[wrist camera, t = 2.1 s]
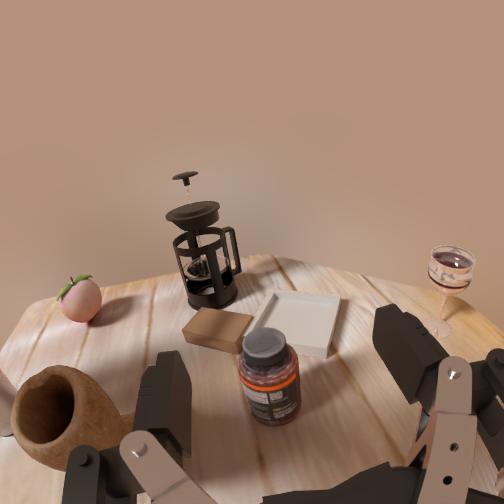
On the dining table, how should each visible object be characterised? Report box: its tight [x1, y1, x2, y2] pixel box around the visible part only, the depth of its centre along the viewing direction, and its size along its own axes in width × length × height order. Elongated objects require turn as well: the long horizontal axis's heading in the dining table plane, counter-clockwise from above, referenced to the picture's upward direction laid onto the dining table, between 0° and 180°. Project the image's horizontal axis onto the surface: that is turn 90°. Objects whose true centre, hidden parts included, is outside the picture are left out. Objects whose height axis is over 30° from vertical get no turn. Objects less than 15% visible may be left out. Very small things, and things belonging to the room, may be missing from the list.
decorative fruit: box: [57, 275, 102, 323], centre depth 48 cm, size 9×8×10 cm
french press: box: [166, 171, 242, 311], centre depth 49 cm, size 12×9×23 cm
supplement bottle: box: [238, 327, 301, 426], centre depth 28 cm, size 6×6×11 cm
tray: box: [242, 289, 341, 358], centre depth 43 cm, size 12×12×2 cm
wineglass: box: [422, 245, 476, 339], centre depth 33 cm, size 7×7×12 cm
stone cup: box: [11, 365, 135, 472], centre depth 21 cm, size 15×12×15 cm
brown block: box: [182, 307, 253, 354], centre depth 43 cm, size 9×6×2 cm, turn 67°
